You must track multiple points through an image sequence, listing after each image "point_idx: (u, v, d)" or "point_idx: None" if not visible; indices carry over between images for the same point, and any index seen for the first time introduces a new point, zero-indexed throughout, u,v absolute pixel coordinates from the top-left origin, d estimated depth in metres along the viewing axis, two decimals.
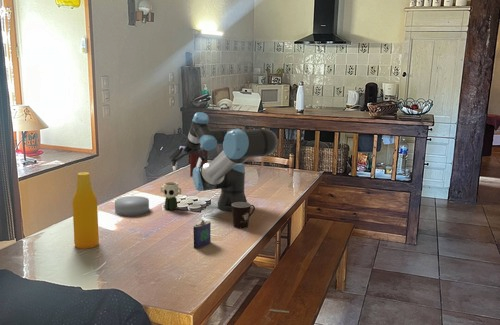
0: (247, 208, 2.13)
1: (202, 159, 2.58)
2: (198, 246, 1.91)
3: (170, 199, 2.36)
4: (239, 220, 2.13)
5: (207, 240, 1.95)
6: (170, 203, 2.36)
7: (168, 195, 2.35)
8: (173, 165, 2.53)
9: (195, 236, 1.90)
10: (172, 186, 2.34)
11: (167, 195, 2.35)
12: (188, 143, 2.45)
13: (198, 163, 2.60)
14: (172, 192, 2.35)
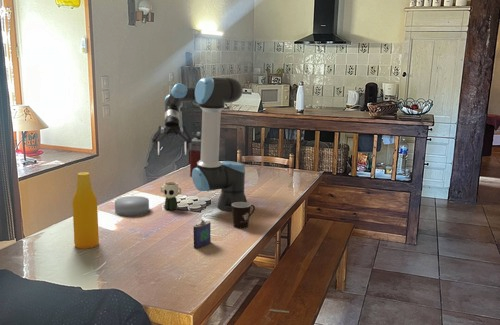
0: (247, 208, 2.13)
1: None
2: (198, 246, 1.91)
3: (170, 199, 2.36)
4: (239, 220, 2.13)
5: (207, 240, 1.95)
6: (170, 203, 2.36)
7: (168, 195, 2.35)
8: (156, 146, 2.47)
9: (195, 236, 1.90)
10: (172, 186, 2.34)
11: (167, 195, 2.35)
12: (165, 121, 2.56)
13: None
14: (172, 192, 2.35)
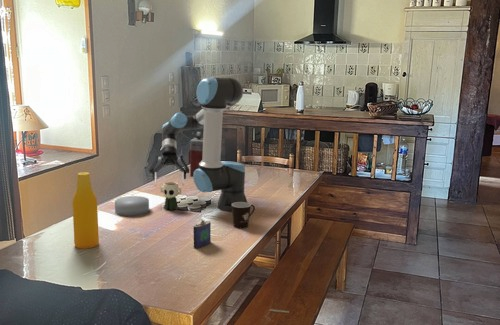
0: (247, 208, 2.13)
1: (183, 170, 2.47)
2: (198, 246, 1.91)
3: (170, 199, 2.36)
4: (239, 220, 2.13)
5: (207, 240, 1.95)
6: (170, 203, 2.36)
7: (168, 195, 2.35)
8: (153, 177, 2.43)
9: (195, 236, 1.90)
10: (172, 186, 2.34)
11: (167, 195, 2.35)
12: (162, 150, 2.51)
13: (182, 178, 2.45)
14: (172, 192, 2.35)
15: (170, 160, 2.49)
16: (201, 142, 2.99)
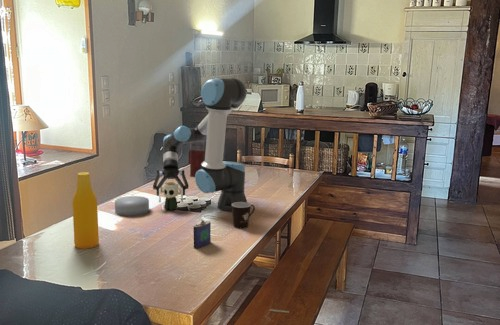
0: (247, 208, 2.13)
1: (183, 186, 2.40)
2: (198, 246, 1.91)
3: (170, 199, 2.36)
4: (239, 220, 2.13)
5: (207, 240, 1.95)
6: (170, 203, 2.36)
7: (168, 195, 2.35)
8: (157, 193, 2.36)
9: (195, 236, 1.90)
10: (172, 186, 2.34)
11: (167, 195, 2.35)
12: (163, 163, 2.45)
13: (181, 194, 2.38)
14: (172, 192, 2.35)
15: (171, 174, 2.43)
16: (201, 142, 2.99)
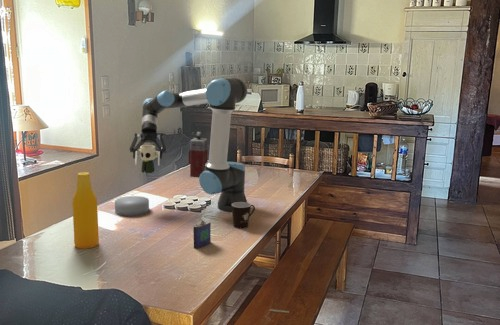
0: (247, 208, 2.13)
1: (160, 149, 2.35)
2: (198, 246, 1.91)
3: (147, 162, 2.32)
4: (239, 220, 2.13)
5: (207, 240, 1.95)
6: (146, 166, 2.32)
7: (144, 158, 2.30)
8: (133, 156, 2.32)
9: (195, 236, 1.90)
10: (148, 149, 2.29)
11: (143, 158, 2.30)
12: None
13: (158, 158, 2.34)
14: (148, 155, 2.30)
15: (149, 137, 2.38)
16: (201, 142, 2.99)
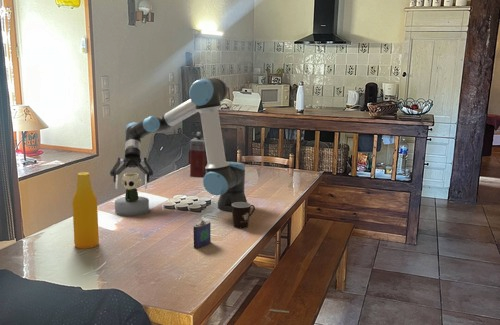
0: (247, 208, 2.13)
1: (147, 173, 2.35)
2: (198, 246, 1.91)
3: (130, 191, 2.31)
4: (239, 220, 2.13)
5: (207, 240, 1.95)
6: (130, 195, 2.31)
7: (128, 186, 2.29)
8: (114, 180, 2.31)
9: (195, 236, 1.90)
10: (132, 177, 2.28)
11: (127, 186, 2.29)
12: (125, 152, 2.39)
13: (145, 181, 2.33)
14: (132, 183, 2.29)
15: (133, 162, 2.37)
16: (201, 142, 2.99)
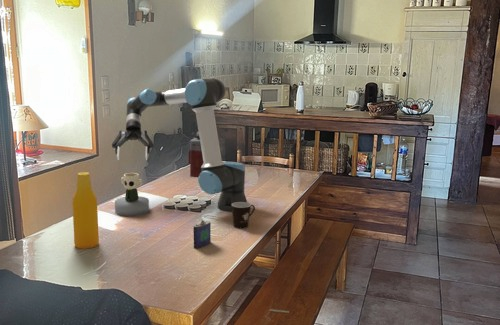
0: (247, 208, 2.13)
1: (147, 145, 2.43)
2: (198, 246, 1.91)
3: (130, 190, 2.31)
4: (239, 220, 2.13)
5: (207, 240, 1.95)
6: (130, 195, 2.31)
7: (128, 186, 2.29)
8: (115, 151, 2.39)
9: (195, 236, 1.90)
10: (132, 177, 2.29)
11: (127, 186, 2.29)
12: (126, 125, 2.48)
13: None
14: (132, 183, 2.30)
15: (134, 135, 2.46)
16: None
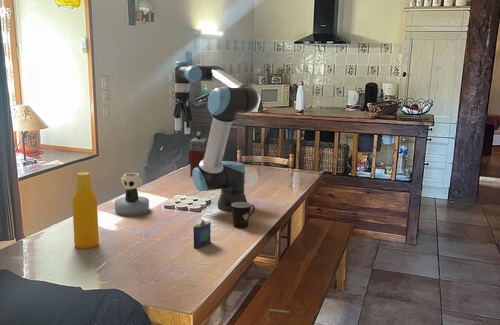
0: (247, 208, 2.13)
1: None
2: (198, 246, 1.91)
3: (130, 190, 2.31)
4: (239, 220, 2.13)
5: (207, 240, 1.95)
6: (130, 195, 2.31)
7: (128, 186, 2.29)
8: None
9: (195, 236, 1.90)
10: (132, 177, 2.29)
11: (127, 186, 2.29)
12: None
13: None
14: (132, 183, 2.30)
15: (180, 106, 2.52)
16: (201, 142, 2.99)
